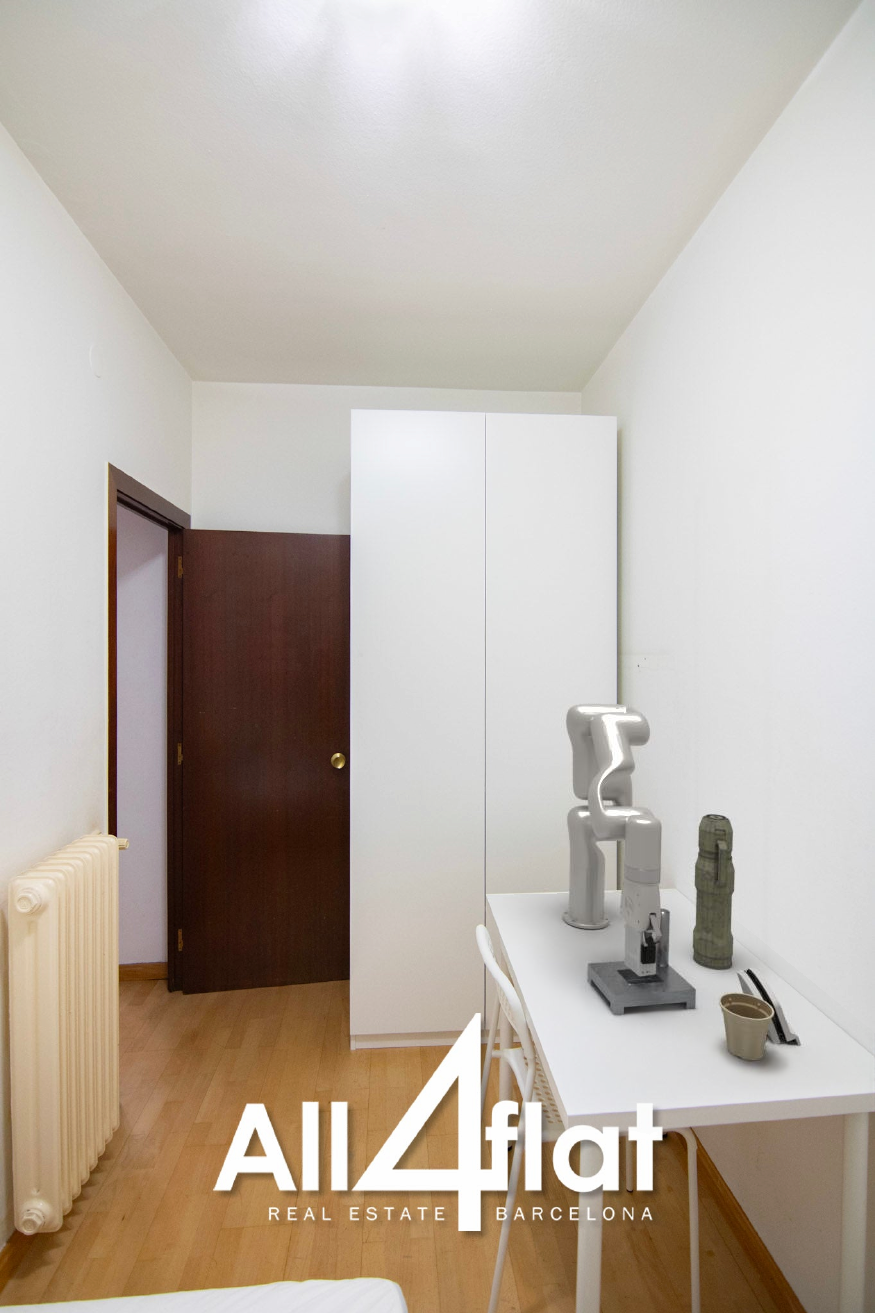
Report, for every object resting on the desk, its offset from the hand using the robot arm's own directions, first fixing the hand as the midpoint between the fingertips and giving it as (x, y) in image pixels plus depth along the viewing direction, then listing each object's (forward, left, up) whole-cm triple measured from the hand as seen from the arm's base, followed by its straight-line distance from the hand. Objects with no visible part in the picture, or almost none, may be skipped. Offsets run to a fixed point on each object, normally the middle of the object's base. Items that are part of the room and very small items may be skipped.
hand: (640, 954), depth 145 cm
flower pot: (+22, +10, -9) cm, 26 cm away
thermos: (-12, +25, -9) cm, 29 cm away
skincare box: (0, 0, -3) cm, 3 cm away
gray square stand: (0, 0, -9) cm, 9 cm away
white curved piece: (+13, +21, -9) cm, 26 cm away
